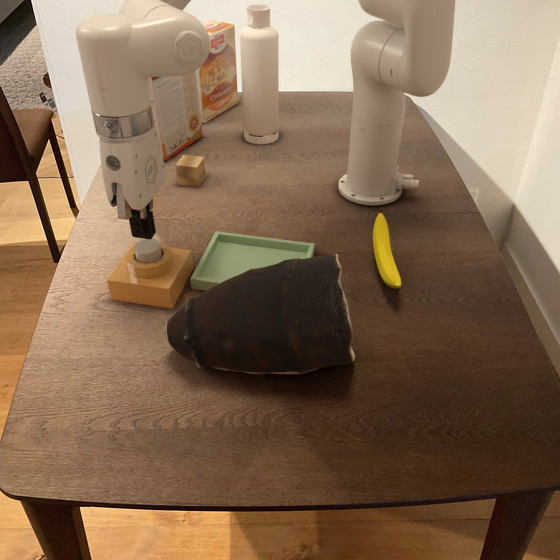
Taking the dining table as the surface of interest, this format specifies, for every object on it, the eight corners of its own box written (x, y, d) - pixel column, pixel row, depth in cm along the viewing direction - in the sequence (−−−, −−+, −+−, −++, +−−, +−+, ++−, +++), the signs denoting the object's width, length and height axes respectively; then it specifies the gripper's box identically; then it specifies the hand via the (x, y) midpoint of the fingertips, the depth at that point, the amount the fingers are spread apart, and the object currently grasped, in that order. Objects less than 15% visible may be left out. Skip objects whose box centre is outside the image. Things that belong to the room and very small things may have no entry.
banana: (384, 311, 88) (389, 278, 84) (368, 238, 102) (371, 208, 98) (403, 310, 88) (409, 278, 84) (384, 238, 103) (388, 208, 99)
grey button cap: (165, 250, 91) (164, 239, 89) (156, 265, 88) (154, 255, 86) (142, 247, 91) (140, 236, 90) (131, 262, 88) (129, 251, 87)
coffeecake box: (204, 124, 140) (197, 40, 128) (181, 117, 143) (172, 35, 130) (239, 103, 150) (235, 23, 137) (217, 97, 153) (211, 19, 140)
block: (205, 176, 120) (204, 156, 117) (199, 187, 117) (196, 167, 114) (185, 174, 121) (183, 154, 118) (177, 184, 117) (175, 164, 114)
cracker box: (183, 131, 137) (173, 40, 123) (204, 137, 134) (195, 44, 121) (143, 155, 127) (127, 59, 114) (165, 162, 125) (151, 64, 112)
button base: (193, 269, 96) (190, 239, 92) (172, 309, 88) (167, 278, 84) (137, 261, 98) (131, 232, 94) (111, 299, 90) (104, 269, 86)
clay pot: (151, 260, 78) (333, 226, 76) (185, 328, 89) (345, 301, 87) (140, 348, 68) (350, 312, 66) (180, 413, 79) (361, 384, 77)
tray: (314, 252, 99) (314, 243, 98) (299, 304, 89) (299, 294, 88) (216, 240, 102) (215, 230, 101) (191, 288, 92) (189, 278, 91)
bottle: (238, 132, 136) (232, 5, 118) (270, 126, 139) (268, 0, 121) (252, 146, 130) (247, 14, 113) (284, 140, 133) (285, 10, 115)
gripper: (126, 147, 69) (148, 268, 80) (171, 100, 80) (184, 212, 92) (69, 141, 70) (98, 261, 82) (121, 95, 81) (140, 206, 93)
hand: (144, 235), depth 87 cm, fingers closed
